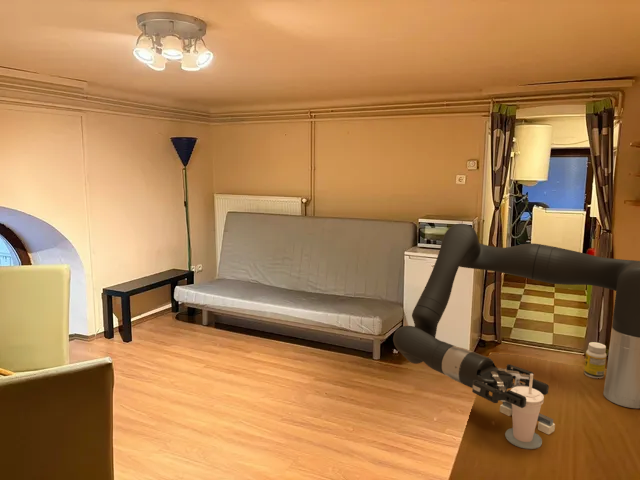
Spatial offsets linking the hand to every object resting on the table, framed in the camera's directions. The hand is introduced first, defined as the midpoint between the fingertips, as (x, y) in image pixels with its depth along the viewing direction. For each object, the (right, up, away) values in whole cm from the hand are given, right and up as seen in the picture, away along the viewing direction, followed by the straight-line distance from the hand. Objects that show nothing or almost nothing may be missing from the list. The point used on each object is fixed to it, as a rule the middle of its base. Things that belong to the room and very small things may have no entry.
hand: (536, 396), depth 98 cm
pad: (-1, -10, +3) cm, 10 cm away
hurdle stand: (+2, -9, +10) cm, 13 cm away
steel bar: (+2, -7, +10) cm, 12 cm away
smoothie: (-1, -10, +3) cm, 10 cm away
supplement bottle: (+29, -5, +33) cm, 44 cm away
